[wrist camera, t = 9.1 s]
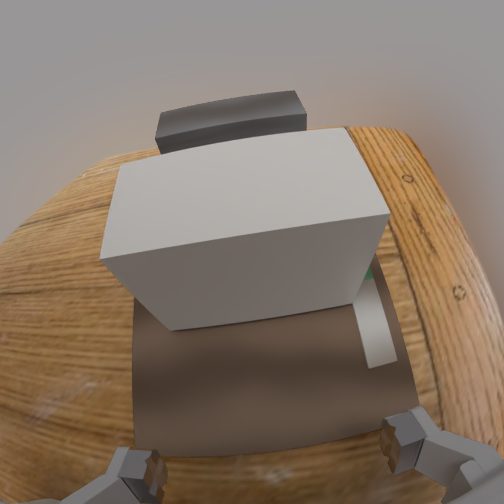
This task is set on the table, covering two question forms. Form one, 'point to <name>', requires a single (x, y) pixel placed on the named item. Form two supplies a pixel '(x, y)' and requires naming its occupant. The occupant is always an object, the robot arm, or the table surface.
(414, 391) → the gauge stand
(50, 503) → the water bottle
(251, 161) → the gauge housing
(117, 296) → the table surface
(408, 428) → the robot arm
